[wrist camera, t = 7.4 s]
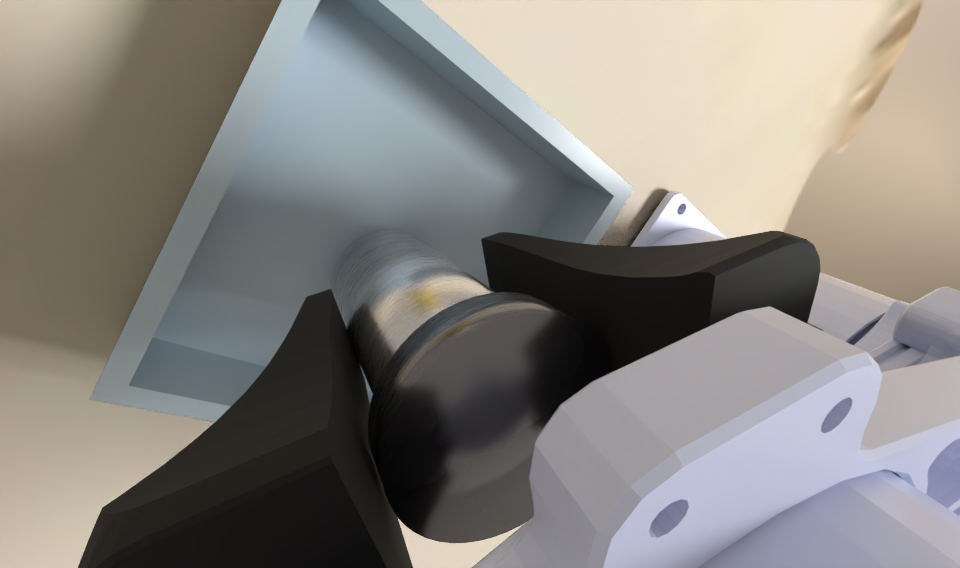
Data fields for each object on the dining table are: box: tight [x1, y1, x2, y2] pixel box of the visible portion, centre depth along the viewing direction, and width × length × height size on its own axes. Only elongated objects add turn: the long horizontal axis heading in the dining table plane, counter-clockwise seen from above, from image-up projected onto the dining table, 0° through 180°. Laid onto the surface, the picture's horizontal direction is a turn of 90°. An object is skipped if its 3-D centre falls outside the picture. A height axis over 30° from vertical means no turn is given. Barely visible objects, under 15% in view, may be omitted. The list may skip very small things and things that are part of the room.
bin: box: [89, 0, 634, 422], centre depth 14 cm, size 11×12×3 cm
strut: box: [331, 229, 613, 543], centre depth 11 cm, size 4×4×8 cm
